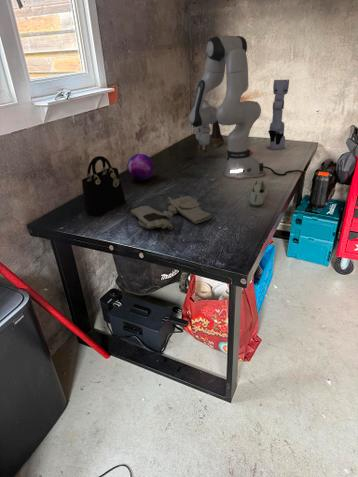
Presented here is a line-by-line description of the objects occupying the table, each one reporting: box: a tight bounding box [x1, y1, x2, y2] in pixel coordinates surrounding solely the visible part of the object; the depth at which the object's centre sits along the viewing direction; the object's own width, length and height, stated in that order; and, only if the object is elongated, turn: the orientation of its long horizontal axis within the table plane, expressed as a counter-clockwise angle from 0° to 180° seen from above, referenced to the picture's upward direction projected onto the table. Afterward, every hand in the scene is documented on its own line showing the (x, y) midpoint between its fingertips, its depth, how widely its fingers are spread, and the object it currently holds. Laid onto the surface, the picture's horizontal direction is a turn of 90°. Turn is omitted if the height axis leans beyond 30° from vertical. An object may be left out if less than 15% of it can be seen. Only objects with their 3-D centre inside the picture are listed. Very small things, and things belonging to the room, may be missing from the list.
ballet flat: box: [249, 179, 269, 207], centre depth 158 cm, size 8×24×8 cm, turn 163°
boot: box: [210, 121, 225, 149], centre depth 246 cm, size 9×24×20 cm, turn 168°
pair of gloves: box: [130, 195, 212, 230], centre depth 145 cm, size 30×26×5 cm
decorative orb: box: [126, 153, 155, 182], centre depth 186 cm, size 15×15×15 cm
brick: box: [197, 144, 208, 154], centre depth 218 cm, size 5×4×4 cm
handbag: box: [81, 155, 126, 217], centre depth 153 cm, size 21×9×25 cm, turn 148°
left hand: (202, 148), depth 218 cm, fingers closed on brick, 4 cm apart
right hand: (274, 142), depth 213 cm, fingers open, 7 cm apart
